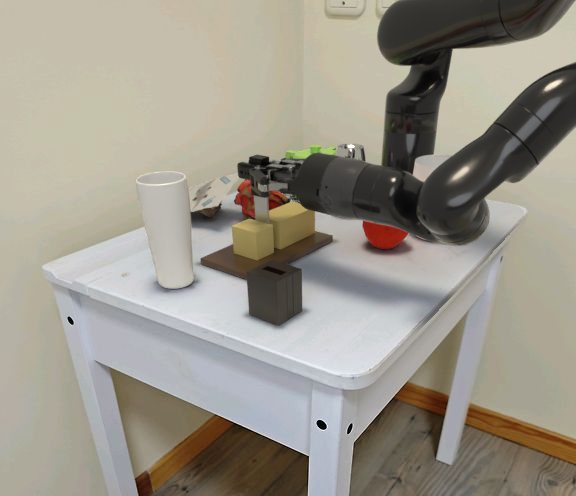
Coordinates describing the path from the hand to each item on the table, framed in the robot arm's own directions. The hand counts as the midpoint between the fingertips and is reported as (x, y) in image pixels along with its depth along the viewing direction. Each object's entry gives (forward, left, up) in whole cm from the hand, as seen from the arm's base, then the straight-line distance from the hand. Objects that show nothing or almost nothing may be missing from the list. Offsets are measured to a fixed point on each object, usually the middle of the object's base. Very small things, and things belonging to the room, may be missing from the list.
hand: (244, 167), depth 84 cm
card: (-4, -19, -13) cm, 24 cm away
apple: (-19, +12, -13) cm, 26 cm away
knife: (-1, +3, -11) cm, 12 cm away
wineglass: (-24, -4, -13) cm, 28 cm away
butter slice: (+1, +3, -12) cm, 13 cm away
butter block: (-6, +1, -12) cm, 14 cm away
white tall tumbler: (+15, +4, -13) cm, 20 cm away
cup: (-29, +13, -13) cm, 34 cm away
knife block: (+8, +21, -13) cm, 26 cm away
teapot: (-26, -17, -13) cm, 34 cm away
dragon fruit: (-10, -11, -13) cm, 20 cm away
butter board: (-2, +2, -13) cm, 13 cm away
